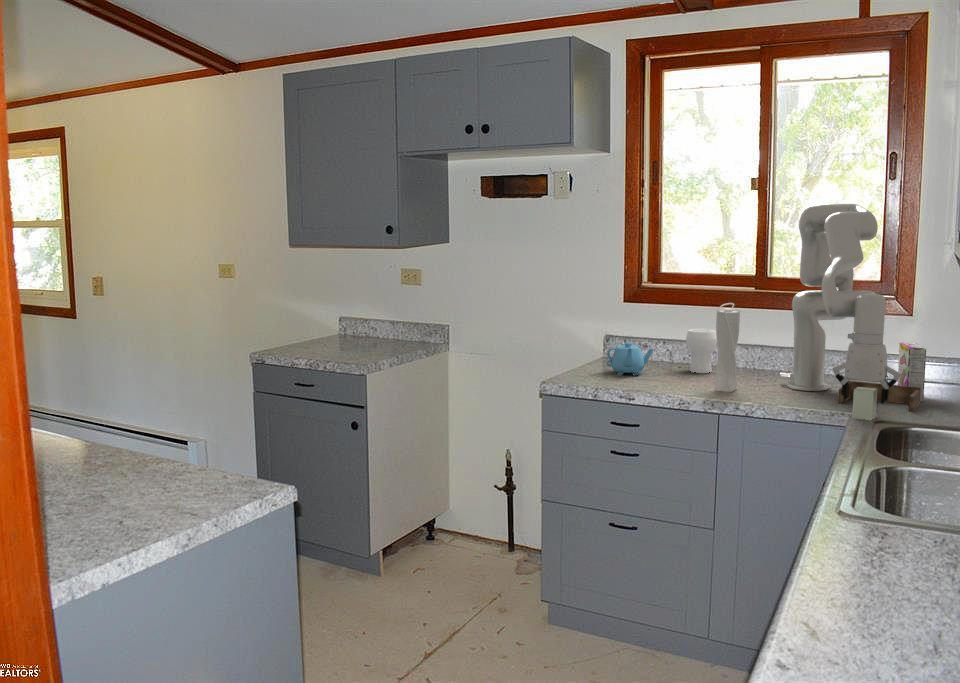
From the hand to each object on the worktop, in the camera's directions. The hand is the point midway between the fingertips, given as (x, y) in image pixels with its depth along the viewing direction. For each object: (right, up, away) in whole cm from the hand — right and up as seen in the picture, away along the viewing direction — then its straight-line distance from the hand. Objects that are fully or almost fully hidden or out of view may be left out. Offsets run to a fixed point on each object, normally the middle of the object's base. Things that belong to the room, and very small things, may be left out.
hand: (864, 400), depth 234 cm
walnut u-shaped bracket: (+12, -2, +16) cm, 20 cm away
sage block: (0, -5, 0) cm, 5 cm away
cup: (-26, +5, +73) cm, 78 cm away
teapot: (-52, +4, +71) cm, 88 cm away
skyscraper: (-27, 0, +40) cm, 48 cm away
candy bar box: (+25, -1, +24) cm, 35 cm away
